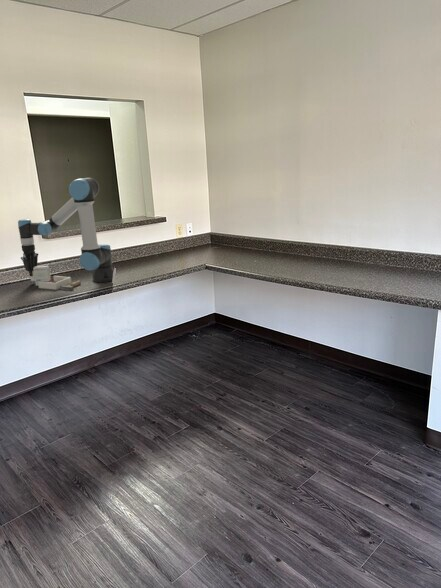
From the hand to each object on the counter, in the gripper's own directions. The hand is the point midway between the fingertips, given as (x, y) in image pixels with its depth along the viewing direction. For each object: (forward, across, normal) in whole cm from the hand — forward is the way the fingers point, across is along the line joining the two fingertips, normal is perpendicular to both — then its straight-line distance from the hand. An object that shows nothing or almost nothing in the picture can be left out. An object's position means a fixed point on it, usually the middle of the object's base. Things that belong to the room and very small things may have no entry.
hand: (33, 280), depth 284 cm
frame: (+2, 0, +17) cm, 17 cm away
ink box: (+2, 0, +8) cm, 8 cm away
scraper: (+2, -1, +30) cm, 30 cm away
